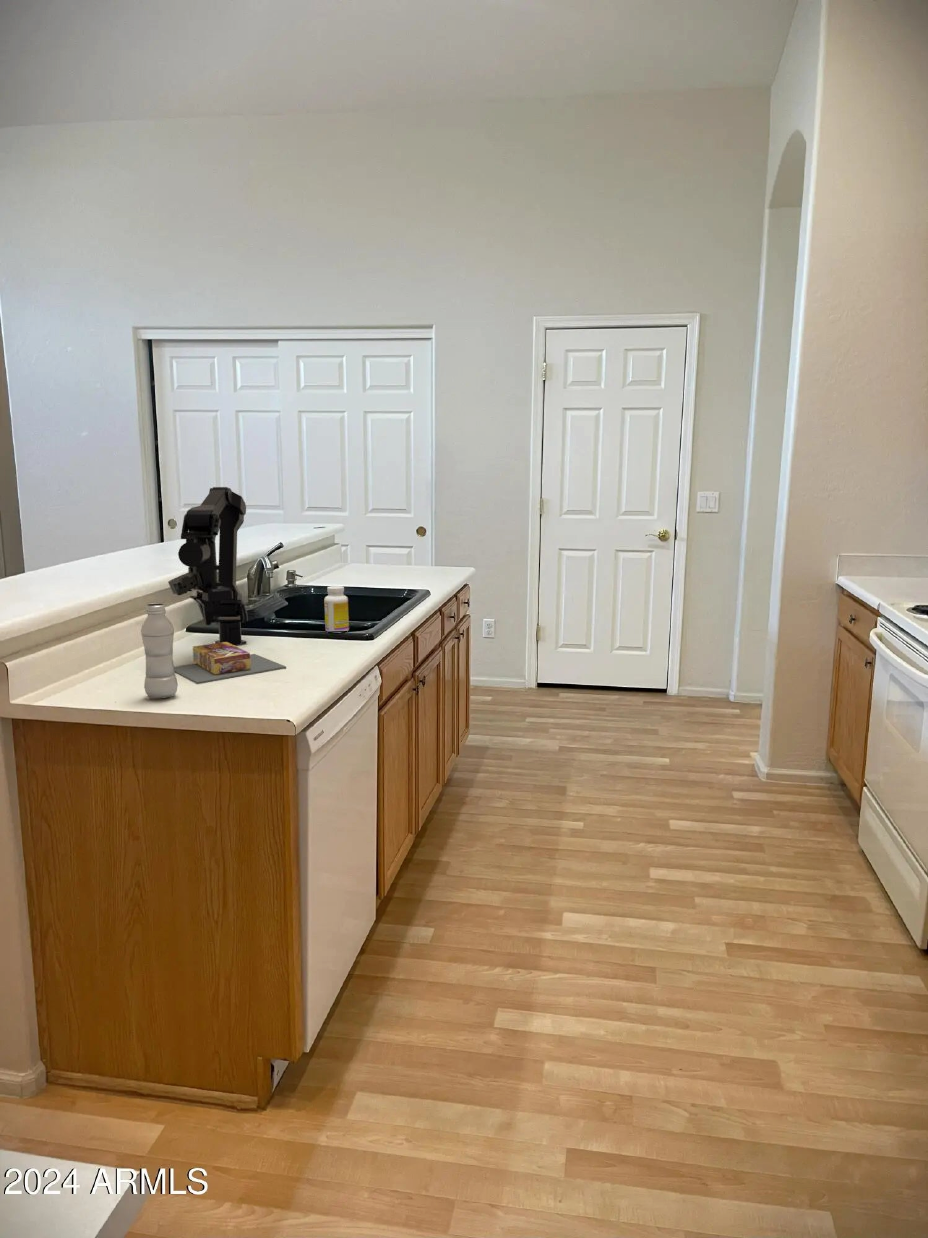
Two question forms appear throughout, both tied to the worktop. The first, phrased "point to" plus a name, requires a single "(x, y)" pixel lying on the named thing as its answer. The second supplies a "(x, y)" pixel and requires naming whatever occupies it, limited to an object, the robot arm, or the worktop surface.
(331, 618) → the supplement bottle
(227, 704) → the worktop surface
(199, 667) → the mat
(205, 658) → the candy box
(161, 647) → the plastic bottle
